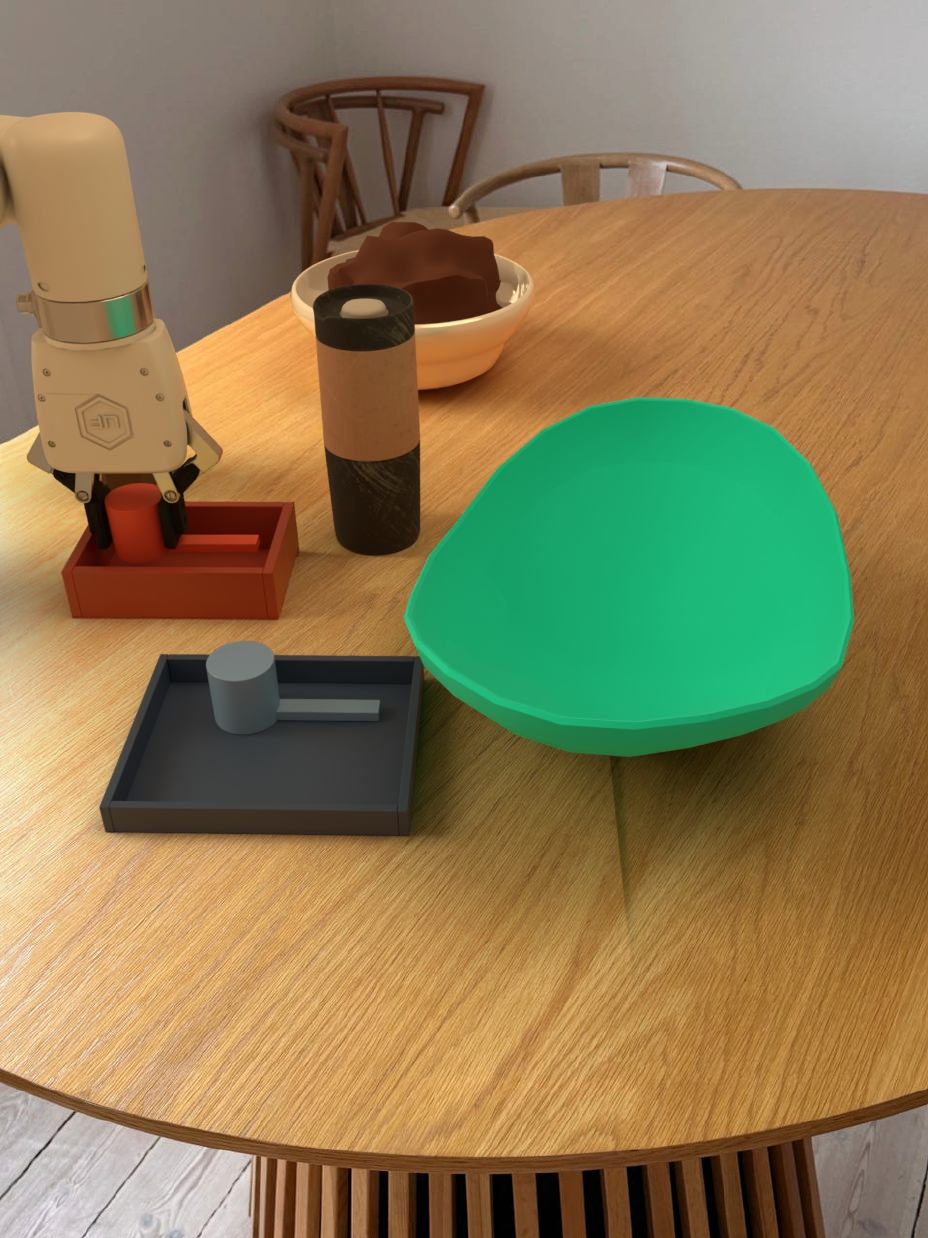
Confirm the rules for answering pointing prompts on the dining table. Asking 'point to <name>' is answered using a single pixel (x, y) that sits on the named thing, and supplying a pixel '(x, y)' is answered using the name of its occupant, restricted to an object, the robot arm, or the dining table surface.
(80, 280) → the robot arm
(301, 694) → the dark grey tray
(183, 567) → the red bin
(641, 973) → the dining table surface
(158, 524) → the red measuring scoop
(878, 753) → the dining table surface
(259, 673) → the grey handled cylinder
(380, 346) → the travel mug
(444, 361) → the bowl of brown chunks
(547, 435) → the table top decor
